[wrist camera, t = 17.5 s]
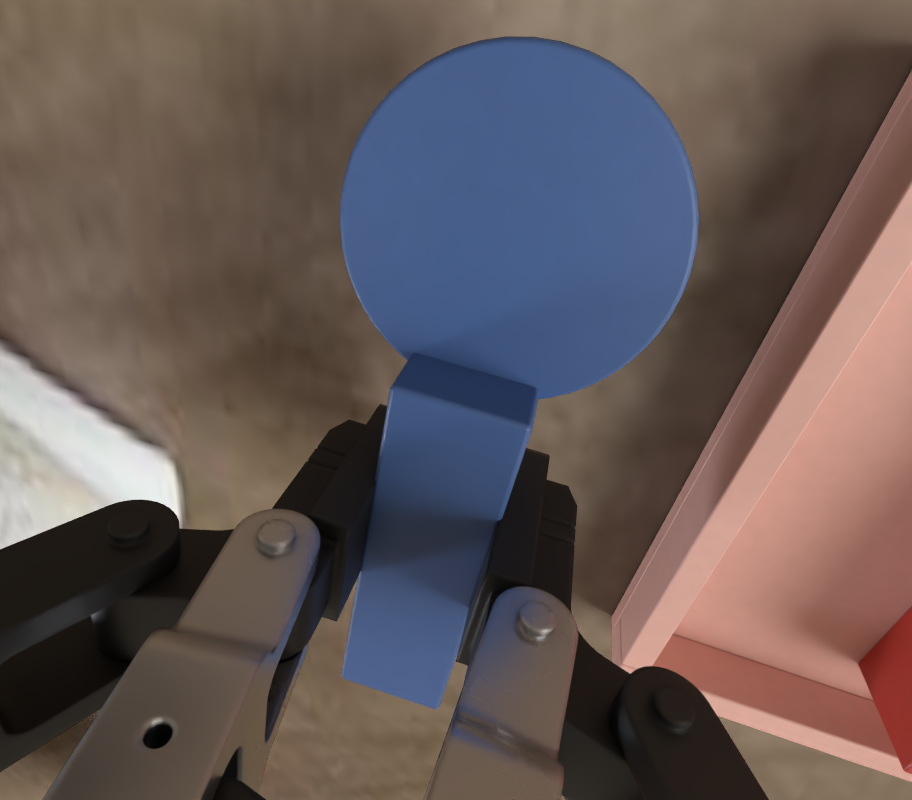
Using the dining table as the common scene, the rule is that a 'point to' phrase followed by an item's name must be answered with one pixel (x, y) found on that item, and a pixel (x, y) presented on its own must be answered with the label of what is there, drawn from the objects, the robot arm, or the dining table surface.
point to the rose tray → (802, 494)
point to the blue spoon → (494, 305)
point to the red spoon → (893, 685)
